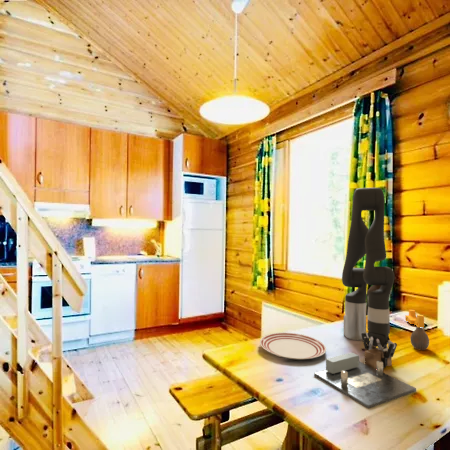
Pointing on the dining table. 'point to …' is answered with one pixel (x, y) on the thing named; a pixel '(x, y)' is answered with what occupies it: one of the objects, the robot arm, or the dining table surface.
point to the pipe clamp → (415, 319)
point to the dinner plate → (293, 346)
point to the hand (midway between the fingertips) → (378, 364)
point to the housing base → (366, 384)
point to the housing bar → (342, 363)
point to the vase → (419, 339)
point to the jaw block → (375, 358)
